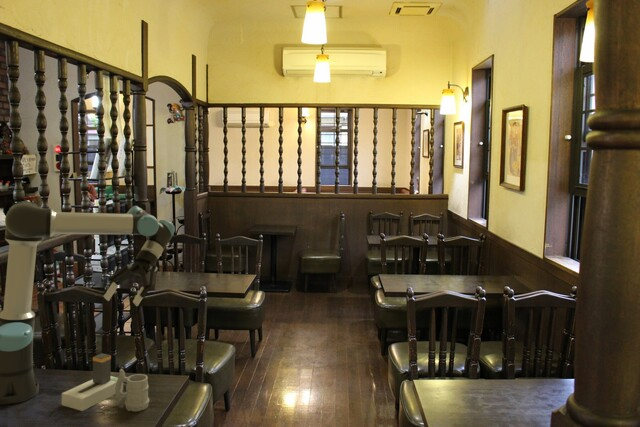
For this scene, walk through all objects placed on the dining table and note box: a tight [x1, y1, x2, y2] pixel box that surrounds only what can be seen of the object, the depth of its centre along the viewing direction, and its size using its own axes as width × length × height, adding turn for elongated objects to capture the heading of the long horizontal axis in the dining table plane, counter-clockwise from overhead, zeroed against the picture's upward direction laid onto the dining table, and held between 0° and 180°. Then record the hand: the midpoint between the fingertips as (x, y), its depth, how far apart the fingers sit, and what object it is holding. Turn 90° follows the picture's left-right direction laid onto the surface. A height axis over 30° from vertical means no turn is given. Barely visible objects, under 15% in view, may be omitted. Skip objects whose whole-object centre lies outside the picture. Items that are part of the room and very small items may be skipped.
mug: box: [114, 368, 150, 412], centre depth 172 cm, size 8×12×12 cm, turn 78°
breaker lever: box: [92, 352, 112, 384], centre depth 180 cm, size 4×4×9 cm
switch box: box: [61, 375, 124, 412], centre depth 177 cm, size 9×18×4 cm, turn 158°
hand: (120, 301), depth 189 cm, fingers open, 13 cm apart
